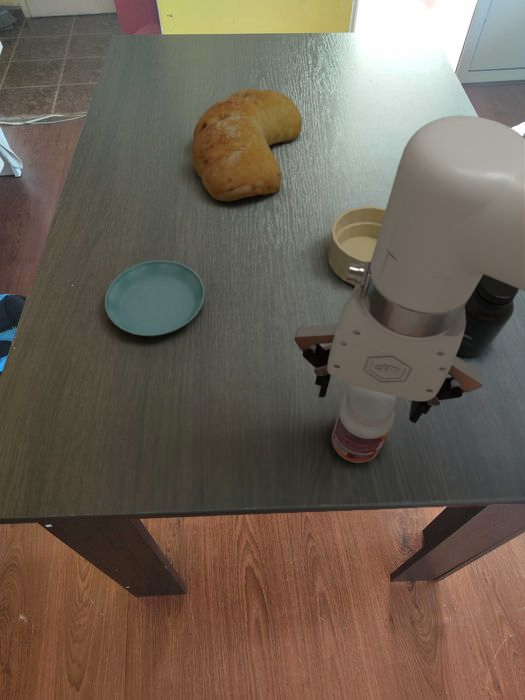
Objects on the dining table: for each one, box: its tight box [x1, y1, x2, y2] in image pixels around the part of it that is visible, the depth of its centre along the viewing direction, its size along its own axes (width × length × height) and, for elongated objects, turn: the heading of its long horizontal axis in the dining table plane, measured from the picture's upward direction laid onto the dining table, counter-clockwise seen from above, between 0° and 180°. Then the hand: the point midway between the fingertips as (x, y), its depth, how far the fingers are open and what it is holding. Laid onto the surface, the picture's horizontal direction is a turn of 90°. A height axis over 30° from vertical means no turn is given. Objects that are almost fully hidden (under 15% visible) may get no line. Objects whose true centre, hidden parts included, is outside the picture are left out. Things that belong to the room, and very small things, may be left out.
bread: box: [191, 88, 303, 202], centre depth 89 cm, size 32×20×10 cm, turn 165°
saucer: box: [104, 259, 206, 337], centre depth 70 cm, size 15×15×3 cm
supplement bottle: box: [456, 274, 520, 358], centre depth 63 cm, size 7×7×12 cm
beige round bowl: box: [327, 205, 386, 287], centre depth 74 cm, size 13×13×6 cm
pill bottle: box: [331, 384, 397, 464], centre depth 54 cm, size 6×6×11 cm
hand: (368, 398), depth 50 cm, fingers open, 9 cm apart
